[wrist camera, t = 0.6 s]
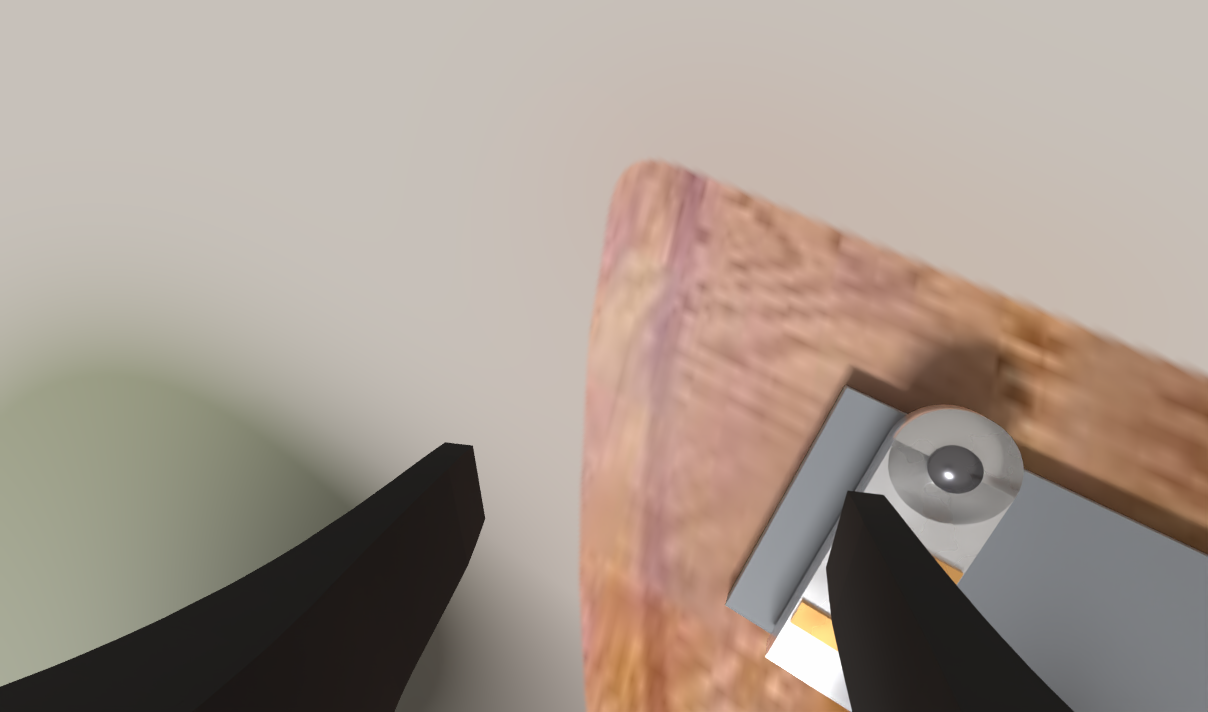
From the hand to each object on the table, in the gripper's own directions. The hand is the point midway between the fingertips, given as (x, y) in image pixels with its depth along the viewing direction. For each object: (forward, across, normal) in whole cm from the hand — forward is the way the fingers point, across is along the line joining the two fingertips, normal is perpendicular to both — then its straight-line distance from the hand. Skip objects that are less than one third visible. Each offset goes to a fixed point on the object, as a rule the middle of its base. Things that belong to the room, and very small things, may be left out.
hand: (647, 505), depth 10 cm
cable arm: (+12, -10, +13) cm, 21 cm away
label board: (+12, -15, +16) cm, 25 cm away
